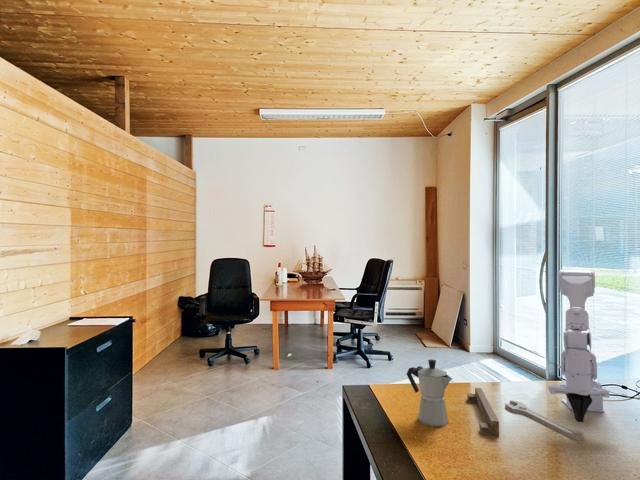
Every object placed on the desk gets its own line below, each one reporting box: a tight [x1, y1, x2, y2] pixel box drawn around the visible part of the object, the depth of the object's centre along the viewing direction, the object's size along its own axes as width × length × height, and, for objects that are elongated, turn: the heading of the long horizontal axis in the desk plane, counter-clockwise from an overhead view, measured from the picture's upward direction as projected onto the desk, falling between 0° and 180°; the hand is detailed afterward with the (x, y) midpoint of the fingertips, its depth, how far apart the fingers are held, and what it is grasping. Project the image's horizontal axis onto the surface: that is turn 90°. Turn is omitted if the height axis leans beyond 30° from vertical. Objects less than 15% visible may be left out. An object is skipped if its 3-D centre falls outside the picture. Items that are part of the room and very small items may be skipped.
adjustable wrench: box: [504, 399, 584, 441], centre depth 116 cm, size 25×6×2 cm, turn 14°
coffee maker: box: [406, 359, 453, 428], centre depth 117 cm, size 15×9×18 cm, turn 47°
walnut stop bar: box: [466, 387, 500, 437], centre depth 120 cm, size 4×26×4 cm, turn 167°
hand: (579, 420), depth 110 cm, fingers closed
